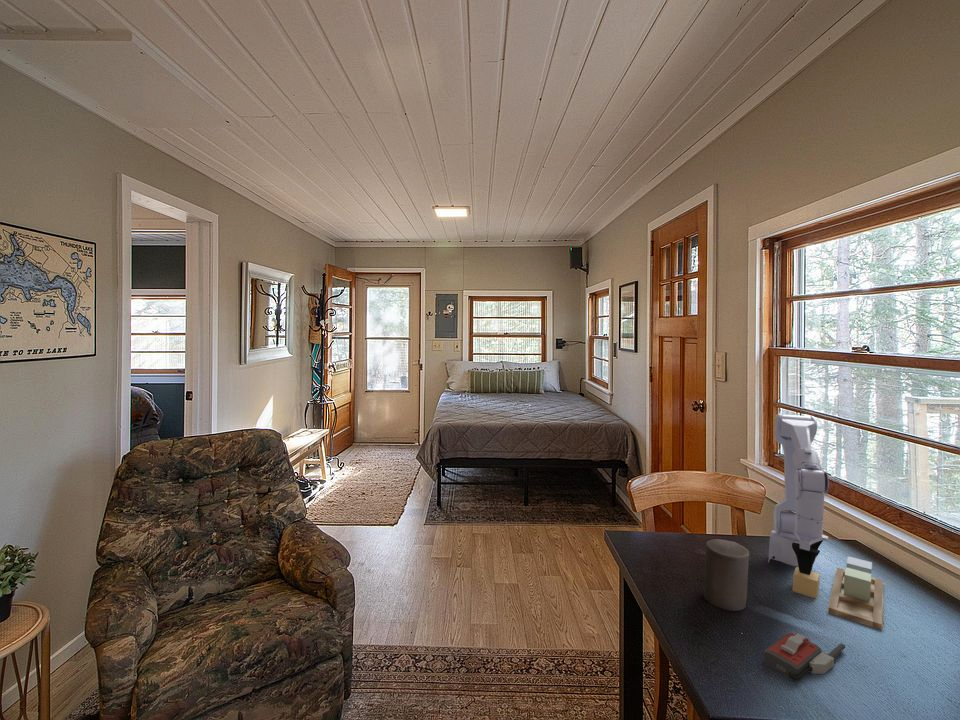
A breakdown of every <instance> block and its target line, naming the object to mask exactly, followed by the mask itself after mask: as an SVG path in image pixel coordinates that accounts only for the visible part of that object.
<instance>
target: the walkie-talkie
mask: <svg viewBox="0 0 960 720" xmlns="http://www.w3.org/2000/svg"><path fill="white" fill-rule="evenodd" d="M844 649H846V644H844V643H839V644H838V645H837V646H836V647H835V648H834V649H832V650H831V651H830V652H829V653H826V652H823V651H822V648H821V647H820V646H818V645H817V644H816V643H813V642H812V641H809V638H807V637H806V636H803V635H801V634H799V633H797V632H795V633H791V632H787V633H785V634H784V635H782V636H781V637H780V638H778V639H777V640H776V641H775V642H773V643H771V645H769V646H768V647H767V648H764V649H763V659H762V661H763V664H764V665H765V666H767V667H769V668H771V669H772V670H774V671H776V672H778V673H780V674H782V675H783V676H784V677H787V678H788V679H790V680H792V681H795V682H796V681H797V682H799V681H800V680H801V679H803V678H804V677H805V675H807V674H808V673H810V674H814V675H816V674H817V675H824V674H826V673H827V672H828V671H829V670H830V669H833V667H834V666H835V658H836V657H837V656H838V655H840V654H841V652H843V651H844Z"/></svg>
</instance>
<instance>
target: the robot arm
mask: <svg viewBox="0 0 960 720" xmlns="http://www.w3.org/2000/svg"><path fill="white" fill-rule="evenodd" d="M817 432H818V422H817V419H816V417H815V416H814V415H810V416H807V415H794V414H793V415H792V414H781V413H777V414H776V415H775V418H774V438H775V441H776V443H778V444H780V445H781V447H782V449H783V459H784V460H783V463H784V464H783V466H784V467H783V469H784V471H783V472H784V474H783V475H784V500H782V501H780V502H778V503H776V504H775V506H774V508H773V516H772V517H773V518H772V520H773V521H772V523H773V529H772V530H771V531H770V536H769V544H768V561H767V563H768V564H769V562H770V560H774V561H778V562H781V563H783V564H786V565H789V566H792V567H798V568H799V571H800V573H803V574H807V575H810V573H811V571H812V570H813V566H814V564H815V561H816V558H817V557H818V556H819V554H820V552H821V550H819V548H820V545H822V543H823V542H824V541H825V542H827V541H828V540H829V536H827V535H825V534H823V533H824V532H823V530H824V512H825V510H824V509H825V495H826V494H828V492H829V485H830V483H829V481H830V480H829V475H828V472H827V471H826V470H825V468H823V467H822V465H821V462H820V457H819V455H818V453H817V451H815V450H814V449H812V443H813V442H814V440H815V438H816V435H817ZM812 572H813V571H812Z"/></svg>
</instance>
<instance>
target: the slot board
mask: <svg viewBox="0 0 960 720" xmlns="http://www.w3.org/2000/svg"><path fill="white" fill-rule="evenodd" d="M845 570H846V568H845V569H843V568H840V567H836V571H835V573H834V578H833V583H832V588H831V591H830V592H831V593H830V596H829V601H828V605H827V606H828V607H827V610H826V612H827V613H829V614H832V615H835V616H838V617H841V618H844V619H847V620H851V621H853V622H856V623H859V624H862V625H866V626H868V627H871V628H874V629H877V630H881V631H883V630H884V584H883V579H881V578H876V577H873V576H871V589H870V602H867V601H864V600H860V599H857V598H854V597H850V596H847V595H844V577H845Z"/></svg>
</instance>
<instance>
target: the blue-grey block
mask: <svg viewBox="0 0 960 720" xmlns="http://www.w3.org/2000/svg"><path fill="white" fill-rule="evenodd" d="M846 567H847V568H851V569H855V570H858V571H862V572H866V573H870V574H871V575H872V570H873V561H869V560H865V559H864V560H863V559H861V558H856V557H854V556H853V557H852V556H847V559H846Z"/></svg>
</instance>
